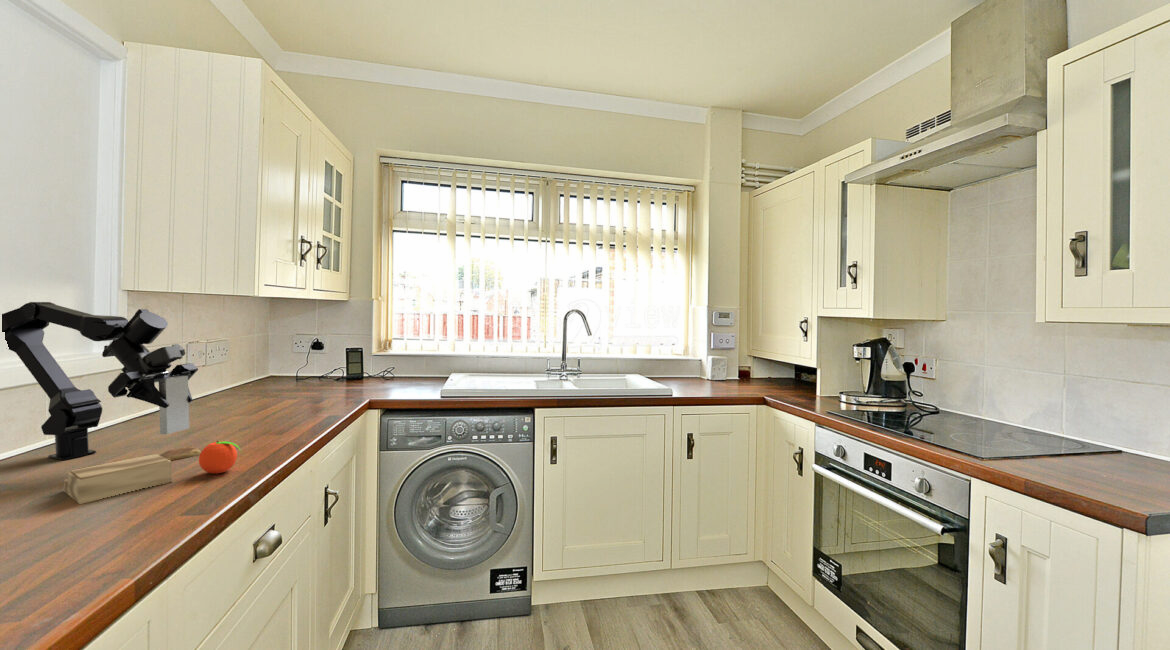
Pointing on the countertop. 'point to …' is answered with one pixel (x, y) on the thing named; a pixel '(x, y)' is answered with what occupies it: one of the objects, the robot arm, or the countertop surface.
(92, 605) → the countertop surface
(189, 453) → the shard
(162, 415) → the cover plate
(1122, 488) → the countertop surface
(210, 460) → the clementine
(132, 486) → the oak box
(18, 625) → the countertop surface
